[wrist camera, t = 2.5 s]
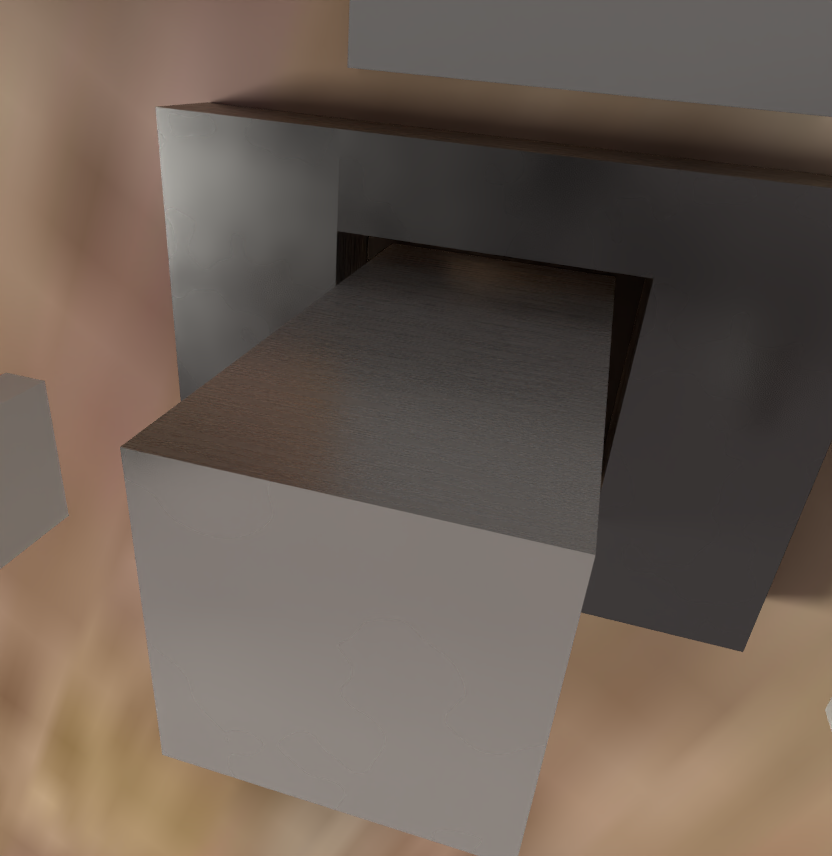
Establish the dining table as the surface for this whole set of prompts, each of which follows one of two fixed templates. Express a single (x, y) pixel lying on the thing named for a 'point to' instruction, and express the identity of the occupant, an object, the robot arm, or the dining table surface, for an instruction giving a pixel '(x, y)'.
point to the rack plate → (566, 245)
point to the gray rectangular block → (382, 542)
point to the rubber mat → (611, 47)
